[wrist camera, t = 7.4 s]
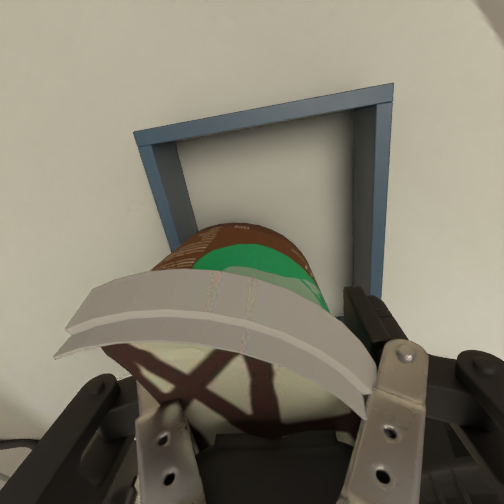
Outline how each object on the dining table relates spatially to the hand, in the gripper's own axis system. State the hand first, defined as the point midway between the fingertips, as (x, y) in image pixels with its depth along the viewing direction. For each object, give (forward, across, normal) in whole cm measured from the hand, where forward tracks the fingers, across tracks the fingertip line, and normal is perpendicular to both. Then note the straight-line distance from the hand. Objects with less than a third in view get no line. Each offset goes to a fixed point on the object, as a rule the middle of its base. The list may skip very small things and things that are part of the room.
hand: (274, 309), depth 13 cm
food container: (+4, 0, 0) cm, 4 cm away
